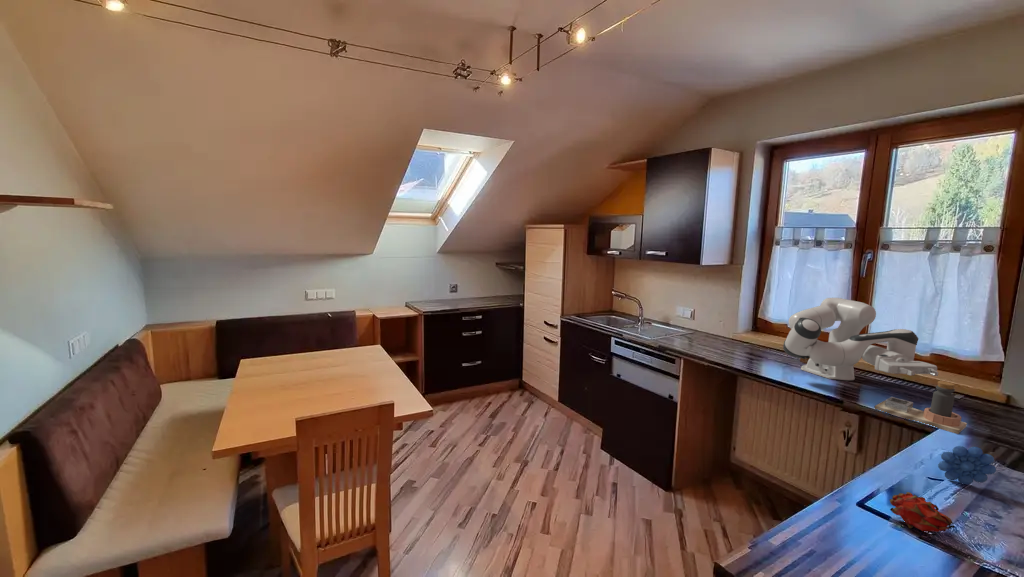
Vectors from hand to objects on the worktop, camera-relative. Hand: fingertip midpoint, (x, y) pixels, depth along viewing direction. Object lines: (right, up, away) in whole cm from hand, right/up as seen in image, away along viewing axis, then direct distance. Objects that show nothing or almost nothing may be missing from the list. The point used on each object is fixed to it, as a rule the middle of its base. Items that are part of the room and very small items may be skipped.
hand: (924, 373), depth 178 cm
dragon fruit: (-65, -25, -68) cm, 97 cm away
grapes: (-33, -23, -47) cm, 62 cm away
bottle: (-1, -17, -7) cm, 18 cm away
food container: (-3, -7, +70) cm, 70 cm away
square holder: (-8, -15, +3) cm, 17 cm away
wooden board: (-4, -17, -2) cm, 18 cm away
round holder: (0, -16, -7) cm, 18 cm away
